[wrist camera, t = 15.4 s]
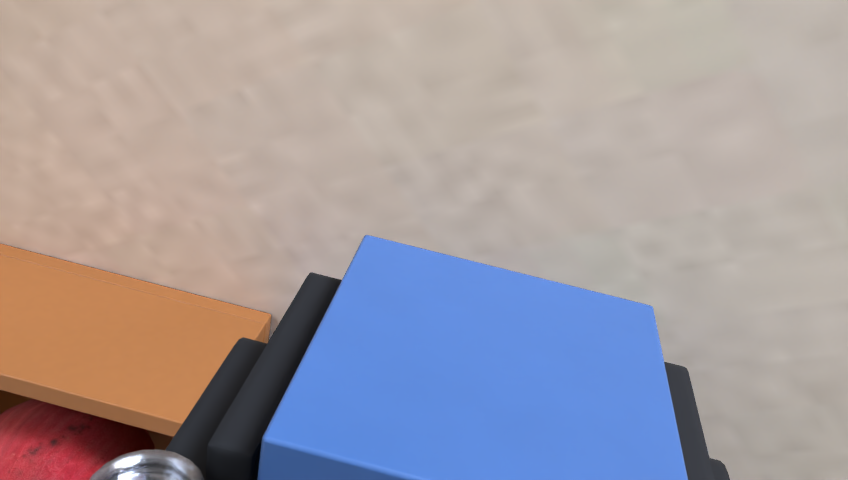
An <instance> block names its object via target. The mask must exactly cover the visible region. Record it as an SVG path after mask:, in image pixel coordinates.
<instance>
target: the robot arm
mask: <svg viewBox="0 0 848 480" xmlns="http://www.w3.org/2000/svg"><path fill="white" fill-rule="evenodd" d="M341 281H342V280H339V279H335V278H331V277H327V276H323V275H319V274H315V273H309V275H308V276H307V278H306V279H305V281H304V283H303V284H302V286H301V288H300V290H299V291H298V293H297V295H296V296H295V298H294V300H293V301H292V303H291V305H290V306H289V308H288V310H287V311H286V313H285V315H284V316H283V318H282V320H281V322H280V323H279V325H278V327H277V328H276V330H275V332H274V333H273V335H272V337H271V338H270V340H269V342H268V343H263V342H260V341H256V340H252V339H248V338H244V337H242V338H240V339H239V340H238V341H237V342H236V344H235V345H234V346H233V348H232V349H231V351H230V352H229V354H228V355H227V357H226V358H225V360H224V361H223V363H222V365H221V366H220V368H219V369H218V371H217V372H216V374H215V375H214V377H213V378H212V380H211V381H210V383H209V384H208V386H207V387H206V389H205V390H204V392H203V393H202V395H201V396H200V398H199V399H198V401H197V402H196V404H195V406H194V407H193V409H192V410H191V412H190V413H189V415H188V416H187V418H186V419H185V421H184V422H183V424H182V425H181V427H180V428H179V430H178V431H177V433H176V434H175V436H174V437H173V439H172V440H171V442H170V443H169V445H168V447H167V448H166V450H160V449H153V450H139V451H135V452H131V453H127V454H123V455H121V456H119V457H117V458H115V459H113V460H111V461H109V462H107V463H106V464H105V465H103V466H102V467H101V468H100V469H99V470H98V471H97V472H95V473H94V474H93V475H92V477H91V478H90V480H257V479H258V470H259V461H260V452H261V443H262V437H263V435H264V433H265V431H266V429H267V427H268V425H269V423H270V421H271V419H272V417H273V415H274V413H275V411H276V409H277V407H278V405H279V403H280V401H281V399H282V397H283V395H284V393H285V391H286V390H287V388H288V386H289V384H290V382H291V380H292V378H293V376H294V374H295V372H296V370H297V368H298V366H299V364H300V362H301V360H302V358H303V356H304V354H305V352H306V350H307V348H308V346H309V344H310V342H311V340H312V338H313V336H314V334H315V332H316V330H317V328H318V326H319V324H320V323H321V321H322V319H323V317H324V315H325V313H326V311H327V309H328V307H329V305H330V303H331V301H332V299H333V297H334V295H335V293H336V291H337V289H338V287H339V285H340V283H341ZM664 364H665V369H666V374H667V379H668V384H669V389H670V394H671V399H672V404H673V408H674V413H675V418H676V423H677V428H678V433H679V438H680V443H681V448H682V453H683V458H684V463H685V467H686V472H687V477H688V480H730V479H729V475H728V472H727V470H726V467H725V465H724V464H723V463H722V462H721V461H718V460H715V459H711V458H709V455H708V451H707V447H706V443H705V438H704V434H703V430H702V426H701V422H700V418H699V414H698V410H697V406H696V402H695V398H694V393H693V389H692V385H691V381H690V377H689V373H688V371H687V368H685V367H682V366H679V365H675V364H671V363H667V362H664Z"/></svg>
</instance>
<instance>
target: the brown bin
mask: <svg viewBox="0 0 848 480" xmlns="http://www.w3.org/2000/svg"><path fill="white" fill-rule="evenodd" d="M270 323H271V314H268V313H265V312H261V311H257V310H253V309H249V308H245V307H242V306H238V305H234V304H230V303H226V302H222V301H219V300H215V299H211V298H207V297H203V296H199V295H196V294H192V293H188V292H184V291H180V290H176V289H173V288H169V287H165V286H161V285H157V284H153V283H150V282H146V281H142V280H138V279H134V278H130V277H126V276H123V275H119V274H115V273H111V272H107V271H103V270H100V269H96V268H92V267H88V266H84V265H80V264H77V263H73V262H69V261H65V260H61V259H57V258H54V257H50V256H46V255H42V254H38V253H34V252H31V251H27V250H23V249H19V248H15V247H11V246H8V245H4V244H0V414H2V413H3V412H4V411H6V410H7V409H9V408H11V407H14V406H16V405H18V404H21V403H23V402H26V401H28V400H30V399H36V400H39V401H43V402H47V403H50V404H54V405H58V406H61V407H65V408H69V409H72V410H76V411H80V412H83V413H87V414H91V415H94V416H98V417H102V418H105V419H109V420H113V421H116V422H120V423H124V424H127V425H131V426H135V427H138V428H142V429H146V431H147V432H148V433H149V435H150V437H151V439H152V441H153V443H154V446H155V449H160V450H166V448H167V447H168V445H169V443H170V442H171V440H172V439H173V437H174V436H175V434H176V433H177V431H178V430H179V428H180V427H181V425H182V424H183V422H184V421H185V419H186V418H187V416H188V415H189V413H190V412H191V410H192V409H193V407H194V406H195V404H196V402H197V401H198V399H199V398H200V396H201V395H202V393H203V392H204V390H205V389H206V387H207V386H208V384H209V383H210V381H211V380H212V378H213V377H214V375H215V374H216V372H217V371H218V369H219V368H220V366H221V365H222V363H223V361H224V360H225V358H226V357H227V355H228V354H229V352H230V351H231V349H232V348H233V346H234V345H235V344H236V342H237V341H238V340H239V339H240V338H242V337H244V338H248V339H252V340H256V341H260V342H263V343H268V340H269V332H270Z"/></svg>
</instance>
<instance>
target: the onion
mask: <svg viewBox="0 0 848 480" xmlns="http://www.w3.org/2000/svg"><path fill="white" fill-rule="evenodd" d="M153 449H155V446H154V443H153V441H152V439H151V437H150V435H149V433H148V432H147V431H146V429H142V428H138V427H135V426H131V425H127V424H124V423H120V422H116V421H113V420H109V419H105V418H102V417H98V416H94V415H91V414H87V413H83V412H80V411H76V410H72V409H69V408H65V407H61V406H58V405H54V404H50V403H47V402H43V401H39V400H36V399H30V400H28V401H26V402H23V403H21V404H18V405H16V406H14V407H11V408H9V409H7V410H6V411H4V412H3V413H2V414H0V480H90V478H91V477H92V475H93V474H94V473H95V472H97V471H98V470H99V469H100V468H101V467H102V466H103V465H105V464H106V463H107V462H109V461H111V460H113V459H115V458H117V457H119V456H121V455H123V454H127V453H131V452H135V451H139V450H153Z"/></svg>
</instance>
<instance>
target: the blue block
mask: <svg viewBox="0 0 848 480" xmlns="http://www.w3.org/2000/svg"><path fill="white" fill-rule="evenodd" d="M257 480H688V477H687V472H686V467H685V463H684V458H683V453H682V448H681V443H680V438H679V433H678V428H677V423H676V418H675V413H674V408H673V404H672V399H671V394H670V389H669V384H668V379H667V374H666V369H665V364H664V359H663V354H662V349H661V345H660V340H659V335H658V330H657V325H656V320H655V315H654V310H653V307H652V306H650V305H646V304H642V303H638V302H634V301H630V300H626V299H622V298H618V297H614V296H610V295H606V294H602V293H598V292H594V291H590V290H586V289H582V288H578V287H574V286H570V285H566V284H562V283H558V282H554V281H550V280H546V279H542V278H538V277H534V276H530V275H526V274H522V273H518V272H514V271H510V270H506V269H502V268H498V267H494V266H490V265H486V264H482V263H478V262H474V261H470V260H466V259H462V258H458V257H454V256H450V255H446V254H442V253H438V252H434V251H430V250H426V249H422V248H418V247H414V246H410V245H406V244H402V243H398V242H393V241H389V240H385V239H381V238H377V237H373V236H369V235H365V236H364V238H363V240H362V242H361V244H360V246H359V248H358V250H357V252H356V254H355V256H354V257H353V259H352V261H351V263H350V265H349V267H348V269H347V271H346V273H345V275H344V277H343V279H342V281H341V283H340V285H339V287H338V289H337V291H336V293H335V295H334V297H333V299H332V301H331V303H330V305H329V307H328V309H327V311H326V313H325V315H324V317H323V319H322V321H321V323H320V324H319V326H318V328H317V330H316V332H315V334H314V336H313V338H312V340H311V342H310V344H309V346H308V348H307V350H306V352H305V354H304V356H303V358H302V360H301V362H300V364H299V366H298V368H297V370H296V372H295V374H294V376H293V378H292V380H291V382H290V384H289V386H288V388H287V390H286V391H285V393H284V395H283V397H282V399H281V401H280V403H279V405H278V407H277V409H276V411H275V413H274V415H273V417H272V419H271V421H270V423H269V425H268V427H267V429H266V431H265V433H264V435H263V437H262V443H261V452H260V461H259V470H258V479H257Z"/></svg>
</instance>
